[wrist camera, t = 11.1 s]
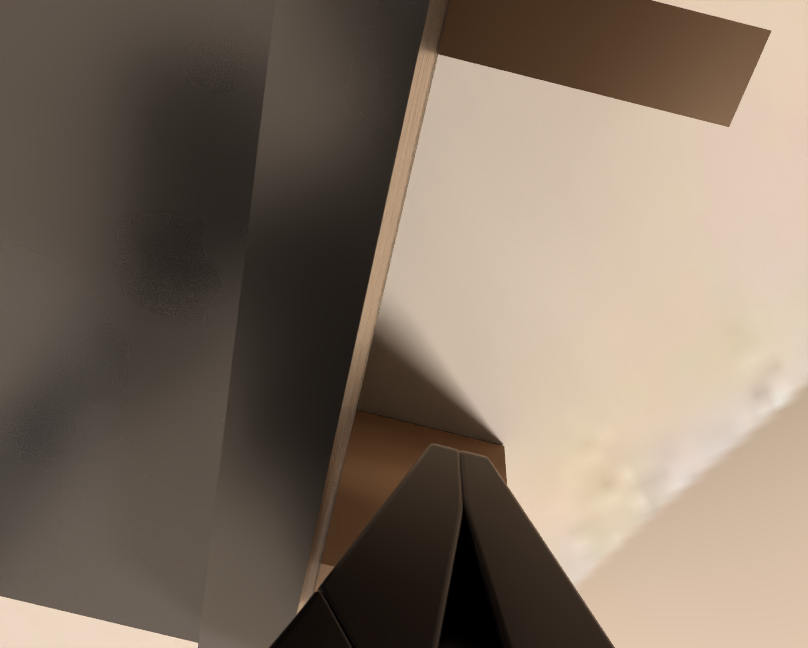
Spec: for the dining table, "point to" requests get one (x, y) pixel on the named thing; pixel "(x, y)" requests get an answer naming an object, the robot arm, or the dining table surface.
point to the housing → (578, 68)
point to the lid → (192, 293)
